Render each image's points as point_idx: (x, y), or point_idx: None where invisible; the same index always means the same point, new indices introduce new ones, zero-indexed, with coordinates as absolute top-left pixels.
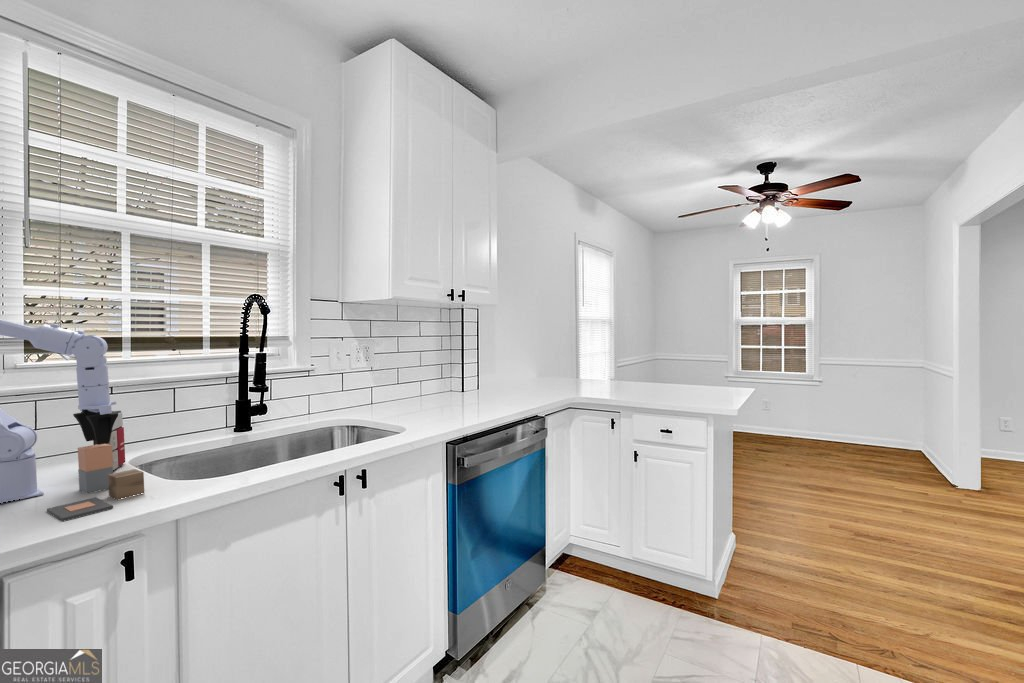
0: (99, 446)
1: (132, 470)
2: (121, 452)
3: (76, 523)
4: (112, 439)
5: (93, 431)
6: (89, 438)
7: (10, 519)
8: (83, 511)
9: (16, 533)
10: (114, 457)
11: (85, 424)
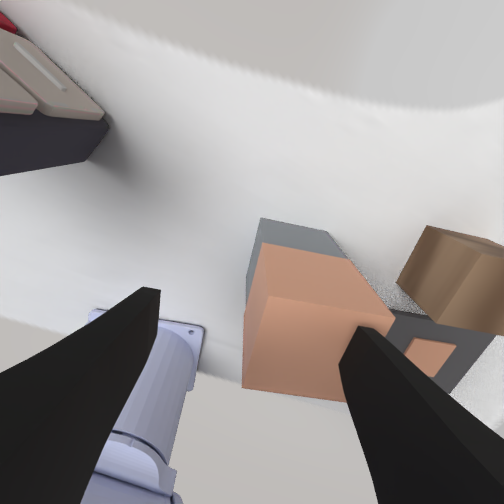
0: (336, 347)
1: (491, 270)
2: None
3: (484, 385)
4: None
5: (130, 355)
6: (151, 337)
7: (326, 406)
8: (459, 367)
9: None
10: (31, 69)
11: (82, 468)
